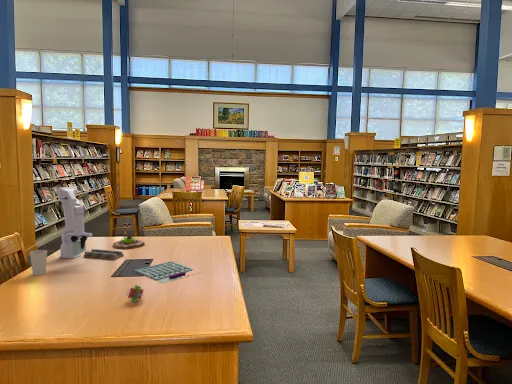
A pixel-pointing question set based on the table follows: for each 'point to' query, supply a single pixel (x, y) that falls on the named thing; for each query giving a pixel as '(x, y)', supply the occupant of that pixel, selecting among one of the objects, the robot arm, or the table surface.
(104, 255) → the door track
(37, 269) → the cup
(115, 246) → the plant
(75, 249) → the door panel
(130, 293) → the geometric puzzle
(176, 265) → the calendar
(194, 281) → the table surface
